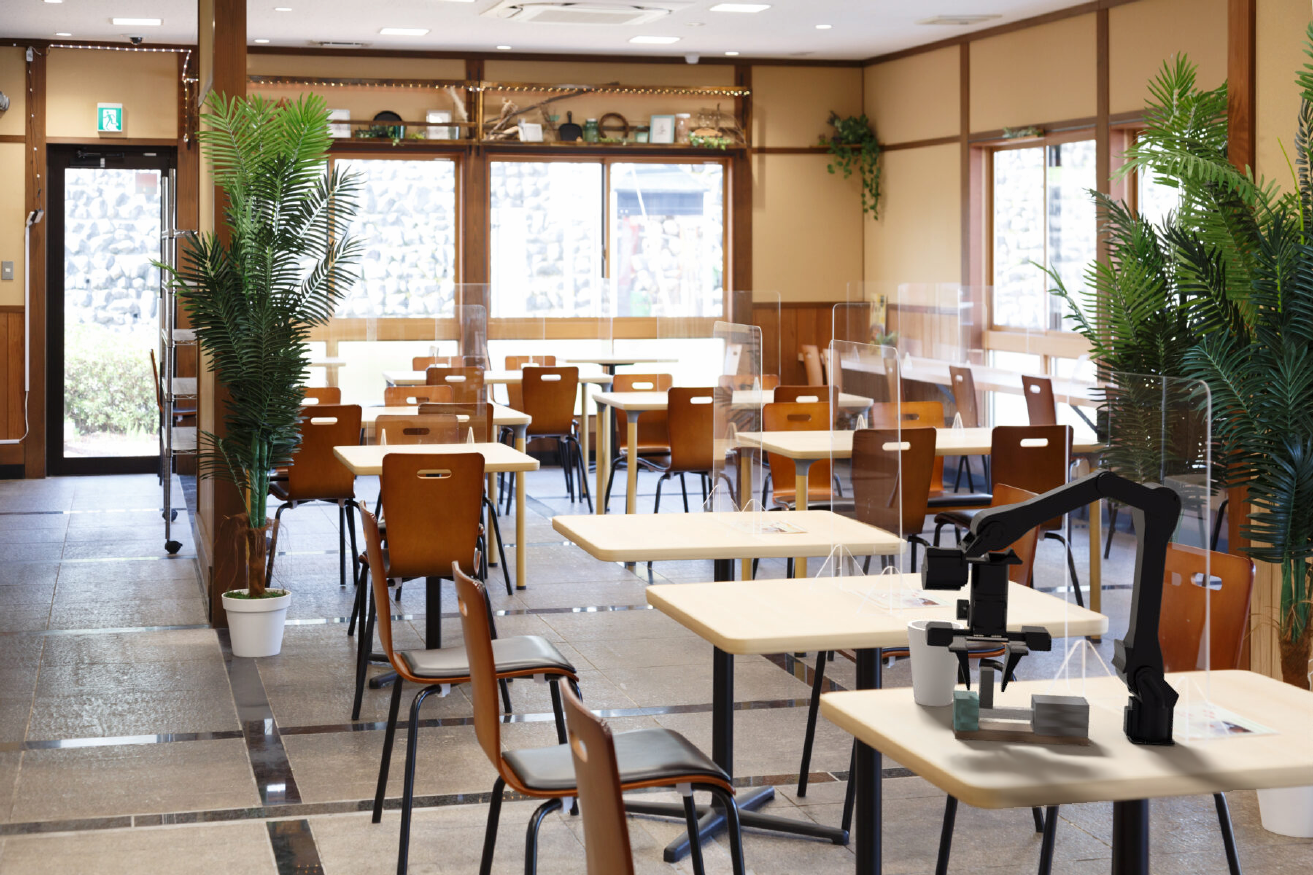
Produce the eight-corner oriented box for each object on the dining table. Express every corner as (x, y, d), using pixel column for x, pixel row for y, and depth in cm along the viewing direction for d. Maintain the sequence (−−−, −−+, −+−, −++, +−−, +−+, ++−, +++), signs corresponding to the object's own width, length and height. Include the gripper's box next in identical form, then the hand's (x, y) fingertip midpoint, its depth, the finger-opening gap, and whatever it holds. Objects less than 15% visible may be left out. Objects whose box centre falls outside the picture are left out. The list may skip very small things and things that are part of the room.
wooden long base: (1081, 732, 225) (1082, 695, 224) (1088, 745, 218) (1090, 707, 217) (951, 725, 227) (953, 688, 227) (955, 738, 220) (956, 700, 220)
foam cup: (971, 706, 239) (974, 630, 237) (921, 710, 236) (923, 632, 235) (944, 692, 248) (947, 618, 247) (895, 695, 245) (898, 620, 244)
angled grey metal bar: (1043, 717, 223) (1046, 669, 222) (1046, 721, 221) (1048, 673, 220) (960, 713, 225) (962, 665, 224) (961, 717, 222) (963, 669, 222)
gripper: (1043, 584, 228) (1039, 680, 229) (924, 579, 230) (921, 675, 232) (1054, 598, 217) (1049, 699, 218) (929, 592, 219) (925, 692, 221)
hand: (985, 690), depth 223 cm, fingers open, 5 cm apart
